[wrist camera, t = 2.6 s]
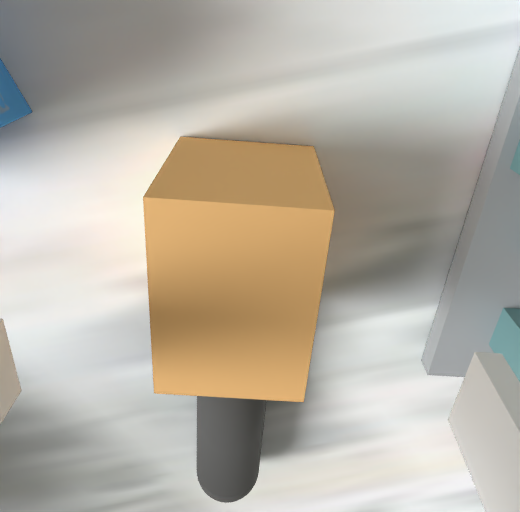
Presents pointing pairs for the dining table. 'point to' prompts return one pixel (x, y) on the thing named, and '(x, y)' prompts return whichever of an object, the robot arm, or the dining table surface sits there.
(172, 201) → the orange cube-head hammer
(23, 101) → the perfume bottle
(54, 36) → the dining table surface
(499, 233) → the teal block plate
